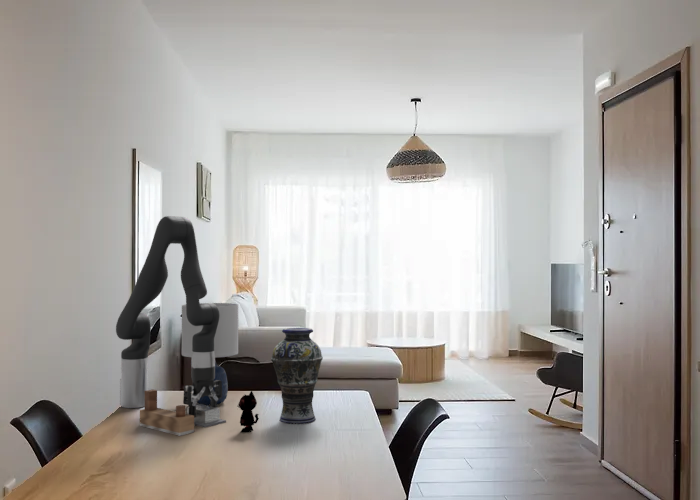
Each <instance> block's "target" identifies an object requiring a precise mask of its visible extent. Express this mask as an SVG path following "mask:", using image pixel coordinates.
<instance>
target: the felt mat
mask: <svg viewBox="0 0 700 500" xmlns="http://www.w3.org/2000/svg"><path fill="white" fill-rule="evenodd" d="M226 422H227V420H226V419H221V418H220V420H219V421H215V422H211V423H207V424H203V423H199V422H194V426H196V427H201V428H208V427H211V426H212V427H213V426H216V425H220V424H224V423H226Z"/></svg>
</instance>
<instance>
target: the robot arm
mask: <svg viewBox="0 0 700 500" xmlns="http://www.w3.org/2000/svg"><path fill="white" fill-rule="evenodd" d="M193 225H194V224H193V222H192V221H191V219H189V218H188V217H185V216H172V215H168V216H167V215H166V216H163V217H162V218H161V219H160V220H159V221H158V223H157V225H156V227H155V228H156V229H155V233H154V235H153V239H152V242H151V245H150V248H149V251H148V253H147V256H146V259H145V261H144V264H143V266H142V268H141V270H140V272H139V275H138V277H137V279H136V282H135V284H134V287H133V289H132V292H131V294H130V296H129V298H128V300H127V303H126V304H125V306H124V307H123V309H122V311H121V313H120V314H119V317H118V319H117V321H116V326H115V333H116V335H117V337H118V339H120V340H124V341H127V340H129V341H130V340H132V343H131V344H130V345H129V346H127V347H125V348H124V349H122V350H121V354H120V363H121V365H120V366H121V367H120V370H121V371H120V379H119V406H121V408H126V409H136V408H143V407H144V408H145V391H147V390H149V351H150V346H151V344H150V343H151V320H150V317H149V316H148V314H146V313H144V312H142V311H143V310H144V309H145V308H146V307H147V306H149V305H150V304H151V303H152V302H153V301H154V300H155V299H157V298H158V296H160V294H161V293H162V292H163V290H164V288H165V285H166V282H167V280H168V277H169V273H168V272H169V270H168V267H167V262H166V253H167V250H168V248H169V246H170V245H171V244H173V245H174V244H177V245H178V244H179V245H180V246H181V248H182V251H183V261H182V266H181V270H180V280H181V281H180V282H181V284H182V288H183V291H184V294H185V304H186V315H187V319H188V321H189V322H190V323H191V324H192V325H193V326H202V325H203V328H202V330H201V331H200V332H198V333H196V334H194V335H193V338H192V357H191V363H190V365H191V373H190V375H191V381H192V384H191V385H187V384H186V385H184V386H183V400H182V402H183V403H182V405H185V406H186V405H187V406H188V407H189V415H193V416H194V418H195V417H196V406H195V405H197V404H198V403H197V401H198V400H199V399H200V397H204V396H209V398H210V399H211V400H212V401H210V406H212V407H217V408H218V405H217V401H218V399H220V398H222V381H220V380H215V381H214V379H215V361H216V358H215V354H214V338H215V334H216V330H217V326H218V323H219V317H220V314H219V310H218V308H217V306H216V305H215V304H212V303H213V302H207V303H208V304H200V303H201V302H200V300H202V299H203V298H205V297H206V296H207V294H208V290H207V287H206V283H205V280H204V276H203V273H202V271H201V267H200V262H199V255H198V246H197V240H196V234H195V233H196V232H195V228H194V226H193ZM213 387H214V390H215V392H214V390H213ZM192 391H193V392H192ZM218 393H219V394H218ZM195 395H196V396H195Z"/></svg>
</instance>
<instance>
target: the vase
mask: <svg viewBox="0 0 700 500" xmlns="http://www.w3.org/2000/svg"><path fill="white" fill-rule="evenodd" d="M313 332H314V330H313V329H312V328H311V327H296V326H295V327H285V328H283V329H282V330H281V333H283V334H285V337H284V339H283V340H281V341H280V342H278V343H277V344H276V345H275V347H274V348H273V351H272V355H271V358H270V360H271V362H272V366H273V367H274V371H275V374H276V377H277V383H278V385H279V387H280V391H281V399H282V409H281V413H280V417H279V422H280V423H282V424H286V425H307V424H311V423H313V422H315V421H316V419H317V418H316V415H315V412H314V407H313V399H314V390H315V388H316V385H317V383H318V382H319V381H318V377H319V376H318V375H319V372H320V368H321V364H322V361H323V355H322V350H321V348H320V346H319V345H318V344H317V343H316V342H315V341H314V340H313V339H312V338H311V337H310V334H311V333H313Z"/></svg>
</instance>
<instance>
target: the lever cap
mask: <svg viewBox="0 0 700 500" xmlns="http://www.w3.org/2000/svg"><path fill="white" fill-rule="evenodd" d="M195 406H196V417H195V418H194V422H199V423H203V424H207V423H211V422H215V421H219V420H220V419H221V417H220V412H221V411H220V409H221V408H220V407H218V406H217V407H212V406H208V405H200V404H198V403H196V405H195ZM186 414H188V415H189V406H188V407H186Z"/></svg>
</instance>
